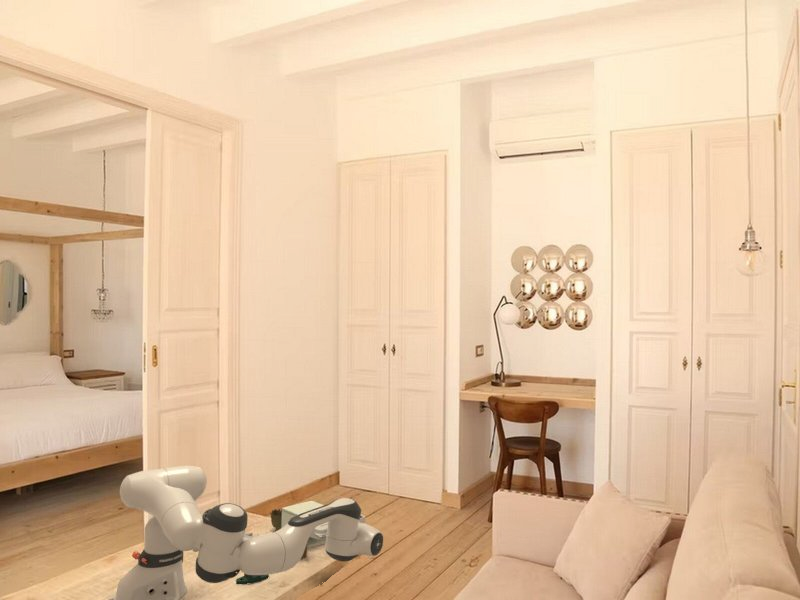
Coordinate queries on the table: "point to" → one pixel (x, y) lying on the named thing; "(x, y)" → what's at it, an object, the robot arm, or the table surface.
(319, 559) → the table surface
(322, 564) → the table surface
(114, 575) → the table surface
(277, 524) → the brown hollow round piece
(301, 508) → the cabinet
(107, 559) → the table surface
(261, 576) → the mount
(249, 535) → the adjustable wrench
